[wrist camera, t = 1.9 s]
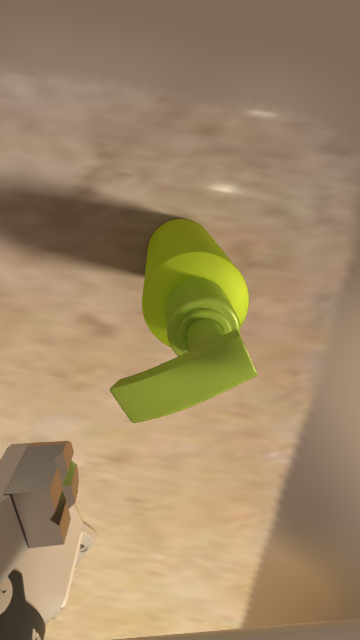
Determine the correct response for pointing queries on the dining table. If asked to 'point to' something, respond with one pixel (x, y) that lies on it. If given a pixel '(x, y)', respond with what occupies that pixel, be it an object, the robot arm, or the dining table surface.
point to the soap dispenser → (189, 324)
